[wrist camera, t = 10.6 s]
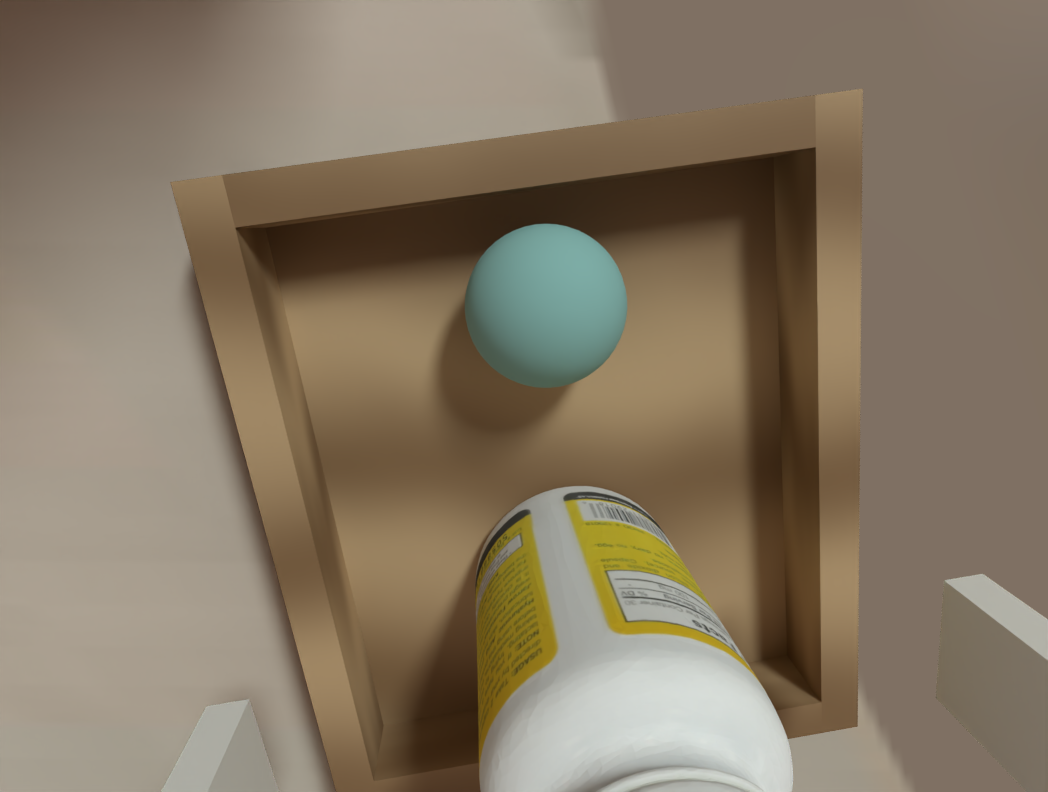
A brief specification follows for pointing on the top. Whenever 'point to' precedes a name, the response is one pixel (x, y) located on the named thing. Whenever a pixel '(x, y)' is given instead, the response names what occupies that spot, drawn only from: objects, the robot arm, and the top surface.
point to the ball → (545, 305)
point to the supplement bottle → (610, 661)
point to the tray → (546, 400)
